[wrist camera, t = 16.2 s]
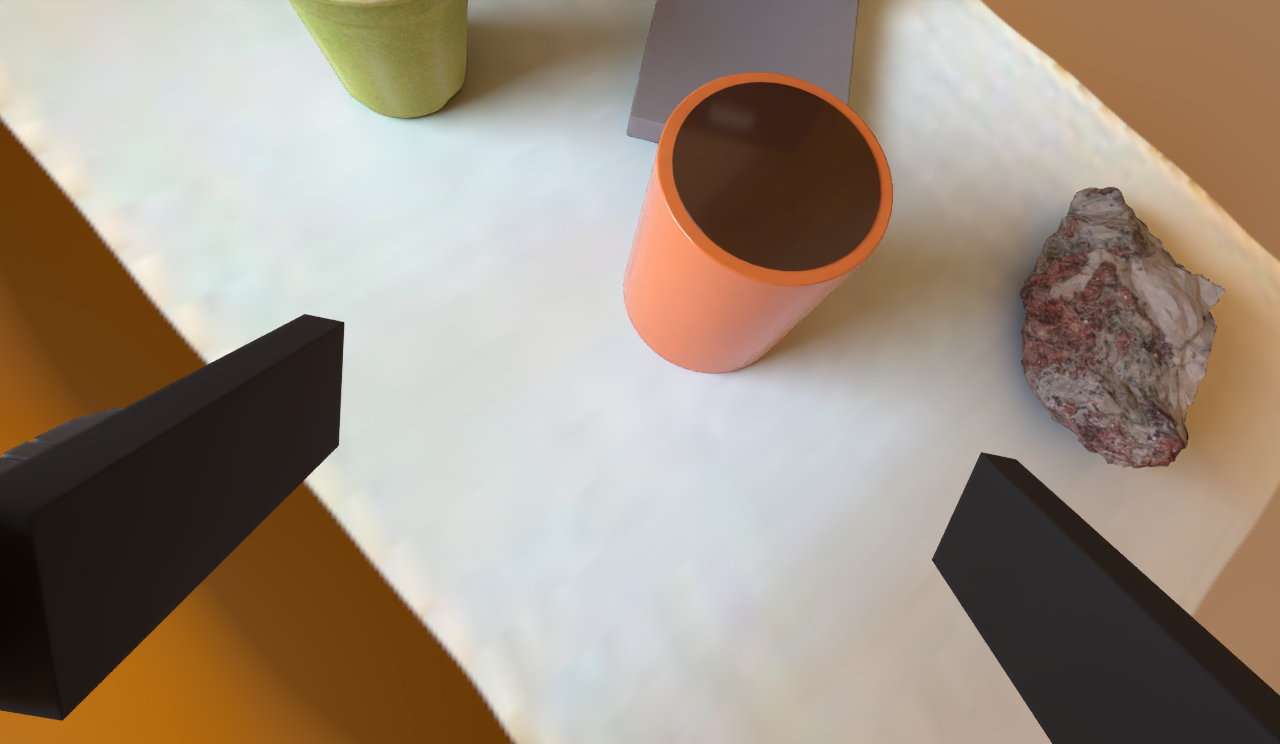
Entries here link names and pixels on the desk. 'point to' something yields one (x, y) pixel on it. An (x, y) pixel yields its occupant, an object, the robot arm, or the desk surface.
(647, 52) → the coffee maker
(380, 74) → the plant pot
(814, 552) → the desk surface
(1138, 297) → the mineral rock
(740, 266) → the cup
